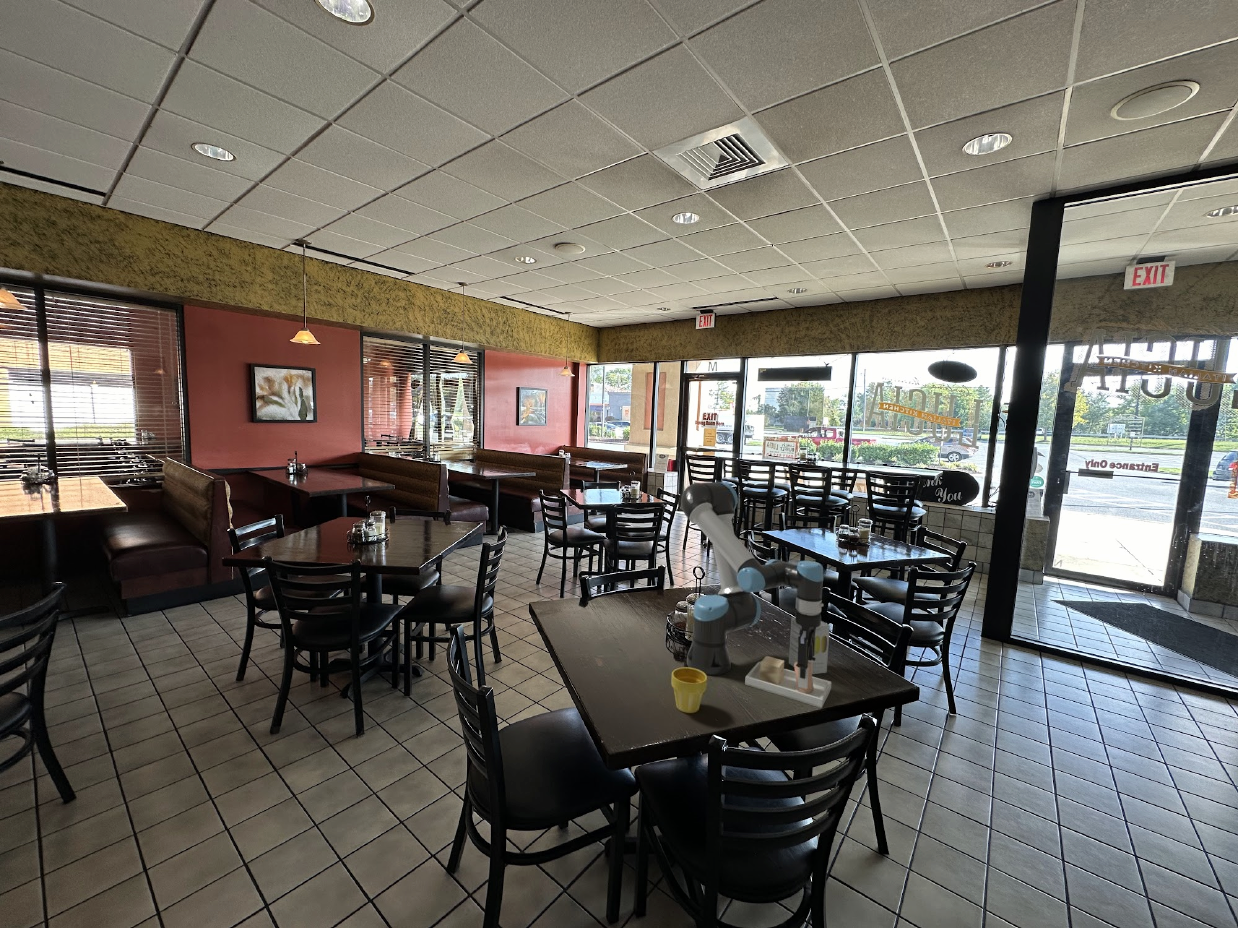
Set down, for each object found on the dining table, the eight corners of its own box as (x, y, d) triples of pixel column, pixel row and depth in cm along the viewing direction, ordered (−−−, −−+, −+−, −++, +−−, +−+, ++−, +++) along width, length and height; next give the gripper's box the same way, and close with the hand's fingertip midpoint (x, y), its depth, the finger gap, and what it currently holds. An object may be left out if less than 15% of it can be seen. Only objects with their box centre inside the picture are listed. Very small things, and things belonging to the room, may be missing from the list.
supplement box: (803, 675, 171) (806, 627, 170) (787, 663, 180) (790, 617, 179) (827, 672, 174) (830, 624, 172) (810, 660, 182) (813, 615, 181)
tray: (744, 684, 164) (745, 676, 163) (758, 668, 175) (758, 661, 175) (821, 708, 151) (822, 699, 150) (830, 689, 162) (831, 681, 162)
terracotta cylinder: (800, 684, 163) (798, 659, 163) (816, 687, 160) (813, 662, 160) (794, 690, 160) (791, 665, 160) (810, 693, 156) (806, 667, 156)
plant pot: (701, 697, 155) (703, 666, 154) (709, 716, 144) (710, 683, 144) (668, 697, 154) (669, 666, 154) (673, 716, 144) (674, 683, 143)
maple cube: (759, 679, 166) (760, 662, 165) (765, 672, 171) (766, 655, 170) (778, 685, 162) (778, 667, 162) (783, 678, 167) (784, 660, 167)
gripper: (814, 622, 149) (810, 699, 150) (826, 606, 164) (823, 675, 165) (788, 617, 153) (785, 691, 154) (803, 601, 168) (799, 669, 169)
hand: (804, 683), depth 160 cm, fingers closed on terracotta cylinder, 5 cm apart
